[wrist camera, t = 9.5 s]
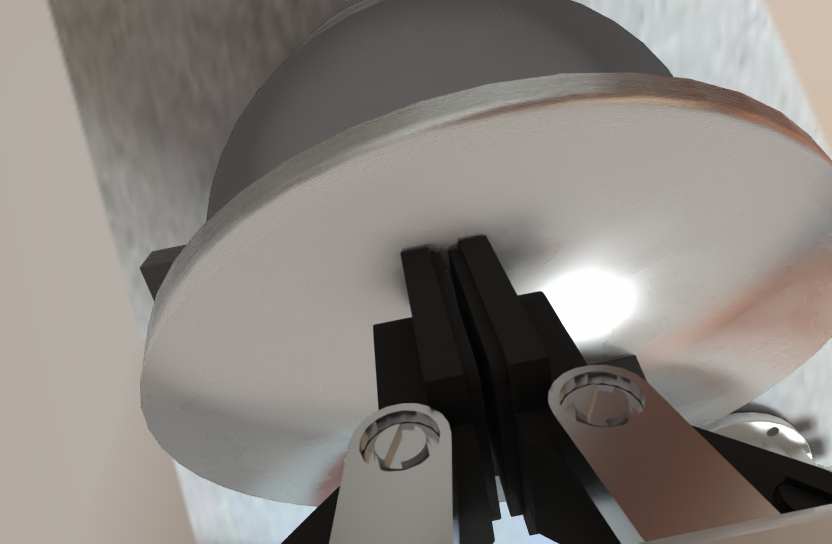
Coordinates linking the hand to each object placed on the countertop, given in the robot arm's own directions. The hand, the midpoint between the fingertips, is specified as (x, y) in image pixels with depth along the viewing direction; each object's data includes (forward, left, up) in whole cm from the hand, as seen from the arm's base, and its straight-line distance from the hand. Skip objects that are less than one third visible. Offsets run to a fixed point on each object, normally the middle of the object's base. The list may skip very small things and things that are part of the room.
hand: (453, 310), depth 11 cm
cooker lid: (-1, +5, -5) cm, 6 cm away
